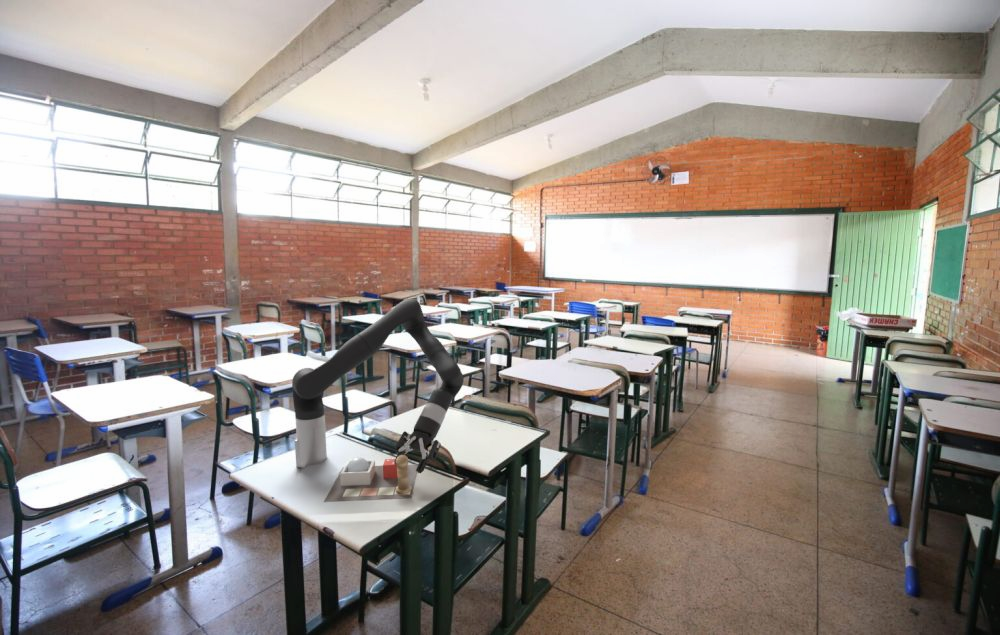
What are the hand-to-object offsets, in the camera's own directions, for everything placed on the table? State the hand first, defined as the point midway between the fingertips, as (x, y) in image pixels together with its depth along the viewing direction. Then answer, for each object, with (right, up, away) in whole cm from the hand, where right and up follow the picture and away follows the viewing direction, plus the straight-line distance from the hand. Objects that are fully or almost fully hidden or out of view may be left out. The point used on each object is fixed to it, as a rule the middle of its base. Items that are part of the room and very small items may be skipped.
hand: (407, 468), depth 141 cm
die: (-7, -5, +9) cm, 12 cm away
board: (-11, -7, +5) cm, 14 cm away
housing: (-17, -5, +7) cm, 19 cm away
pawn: (-1, -6, -1) cm, 6 cm away
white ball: (-17, -5, +7) cm, 19 cm away
